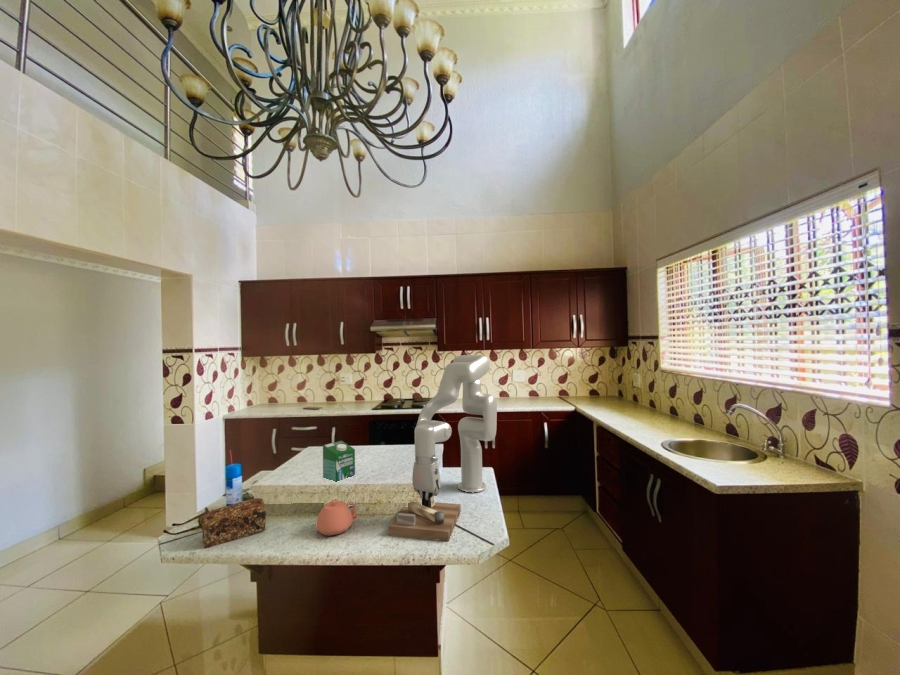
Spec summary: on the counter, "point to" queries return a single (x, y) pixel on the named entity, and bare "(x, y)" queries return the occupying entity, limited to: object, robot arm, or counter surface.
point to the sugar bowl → (335, 517)
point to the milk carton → (338, 461)
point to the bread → (233, 522)
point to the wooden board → (425, 523)
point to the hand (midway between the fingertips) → (426, 508)
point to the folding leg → (426, 512)
